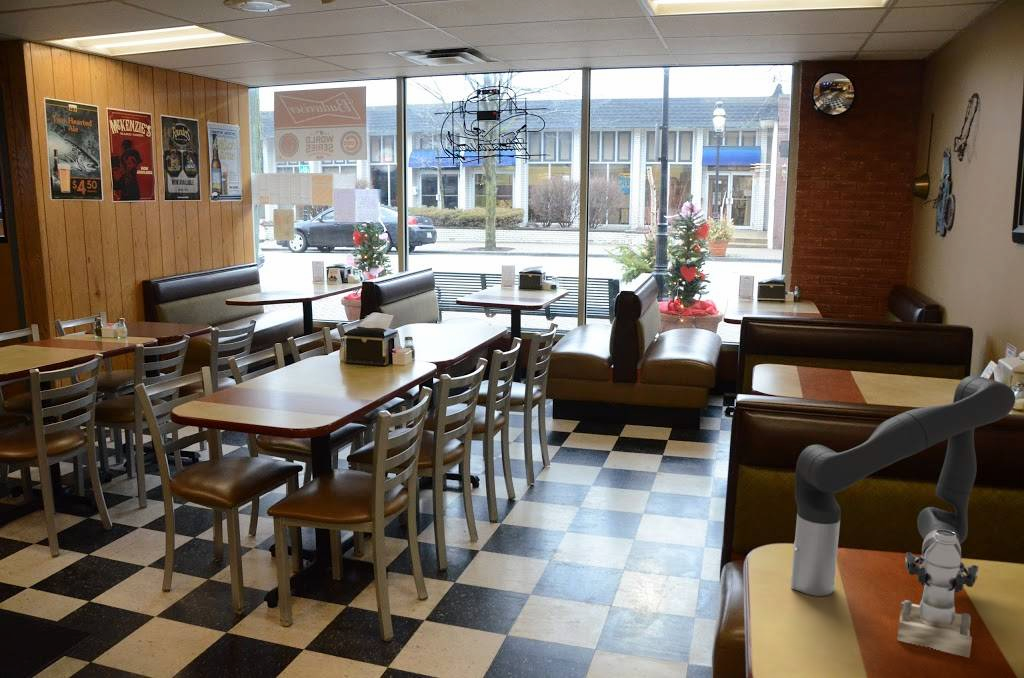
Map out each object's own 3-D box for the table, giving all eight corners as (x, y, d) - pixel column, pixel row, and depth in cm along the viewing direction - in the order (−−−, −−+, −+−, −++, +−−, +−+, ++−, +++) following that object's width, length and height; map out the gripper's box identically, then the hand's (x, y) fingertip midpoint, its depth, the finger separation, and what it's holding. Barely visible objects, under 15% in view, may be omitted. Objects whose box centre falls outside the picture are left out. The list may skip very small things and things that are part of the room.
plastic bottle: (958, 634, 165) (969, 541, 162) (922, 630, 167) (932, 537, 163) (948, 618, 172) (958, 528, 168) (913, 614, 173) (923, 525, 169)
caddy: (897, 640, 168) (900, 610, 167) (899, 618, 177) (903, 590, 176) (969, 657, 162) (973, 627, 161) (968, 634, 171) (972, 605, 170)
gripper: (906, 529, 182) (902, 559, 168) (981, 542, 176) (983, 575, 161) (903, 560, 184) (899, 593, 169) (977, 575, 177) (979, 610, 162)
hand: (940, 584), depth 165 cm, fingers closed on plastic bottle, 5 cm apart
